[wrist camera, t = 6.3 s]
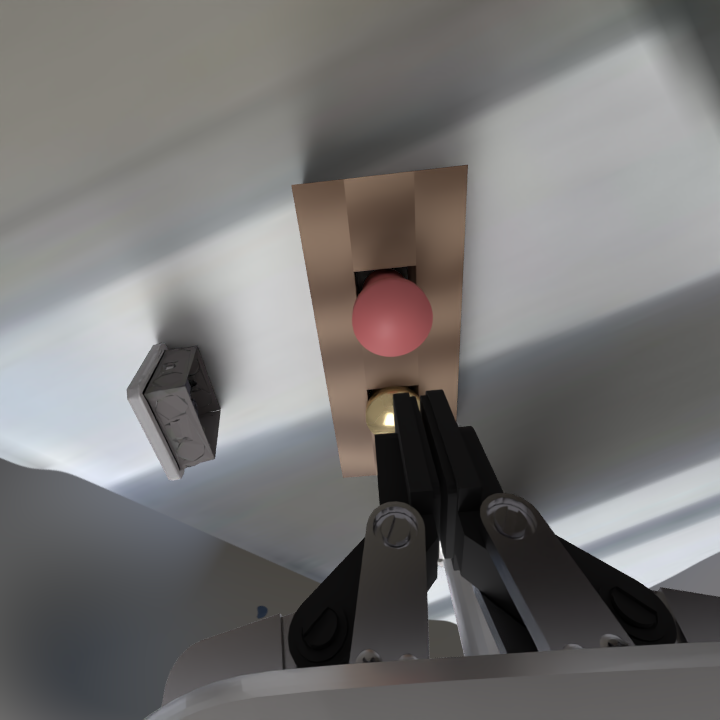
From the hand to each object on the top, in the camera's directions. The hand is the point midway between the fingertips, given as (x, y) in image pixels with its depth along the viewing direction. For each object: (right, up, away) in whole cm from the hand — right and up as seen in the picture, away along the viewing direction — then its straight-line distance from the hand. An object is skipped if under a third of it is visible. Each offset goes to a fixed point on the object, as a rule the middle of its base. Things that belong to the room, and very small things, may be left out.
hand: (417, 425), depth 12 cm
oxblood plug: (0, +8, +15) cm, 17 cm away
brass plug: (+1, 0, +22) cm, 22 cm away
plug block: (0, +5, +20) cm, 20 cm away
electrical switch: (-18, 0, +22) cm, 29 cm away
